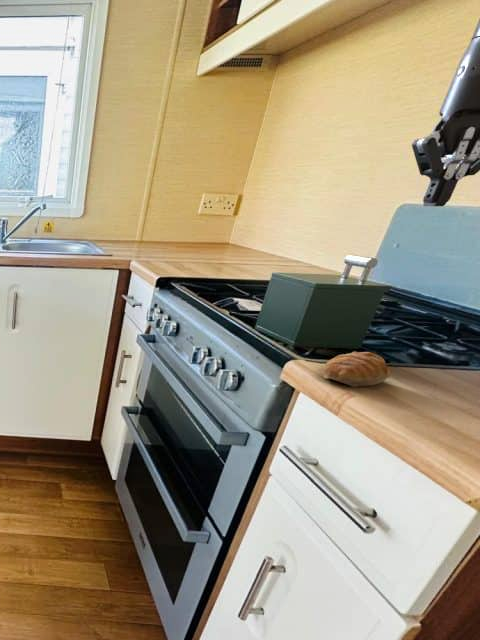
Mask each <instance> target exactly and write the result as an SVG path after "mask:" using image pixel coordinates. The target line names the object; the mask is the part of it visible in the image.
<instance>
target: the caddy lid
mask: <svg viewBox="0 0 480 640" xmlns="http://www.w3.org/2000/svg"><path fill="white" fill-rule="evenodd" d="M344 264H345V267H344V270H343V271H342V274H326V273H303V272H301V273H300V272H299V273H297V272H272V273H271V277H275V278H279V279H283V280H286V281H290V282H294V283H298V284H301V285H305V286H309V287H313V288H330V289H359V290H385V291H391V289H392V285H389V284H384V283H380V282H375V281H370V280H368V277H369V274H370V272H371V270H372V269H374V268H375V267H376V266H377V265H378V259H377V258H375V257H370V256H362V255H357V254H356V255H355V254H349V255H347V256H345V258H344ZM353 266H354V267H357V268H358V267H360V268H363V270H362V272H361V275H360V278H357V277H351V276H349V275H350V273H351V270H352V268H353Z"/></svg>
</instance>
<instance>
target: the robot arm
mask: <svg viewBox="0 0 480 640" xmlns="http://www.w3.org/2000/svg"><path fill="white" fill-rule="evenodd" d="M438 114H439V116H440V117H441V118H440V120H439V121H438V123H436V125H435V126H434V128H433V131H432V132H431V133H430V134H428V135H426V136H424V137H423V138H417V139H415V140H414V141H412V143H411V148H412V152H413V154H414V159H415V162H416V165H417V168H418V171H419V174H420V175H421V176H425V177H428V179H429V180H430V182H429V184H428V185H427V186H428V187H427V188H426V192H425V194H424V195H423V199H422V202H423V203H422V204H423V206H424V207H444V206H445V205H446V204H447V203H448V202H449V201H450V200H451V198H452V195H453V193H454V191H455V190H456V187H457V184H458V183H459V181H460V180H462V179H463V178H465V177H468V176H475V175H476V174H478V173H479V172H480V18H479V19H478V22H477V25H476V27H475V29H474V31H473V34H472V37H471V39H470V42H469V43H468V46H467V48H466V49H465V51H464V53H463V55H462V56H461V59H460V61H459V63H458V65H457V68H456V70H455V72H454V75H453V78H452V80H451V82H450V85H449V88H448V90H447V92H446V95H445V98H444V99H443V102H442V104H441V107H440V110H439V113H438Z"/></svg>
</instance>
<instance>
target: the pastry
mask: <svg viewBox="0 0 480 640" xmlns="http://www.w3.org/2000/svg"><path fill="white" fill-rule="evenodd" d="M322 376H323V378H324V379H329V380H334V381H337V382H340V383H342V384H345V385H348V386H350V387H355V388H356V387H368V386H369V387H370V386H374V385H377V384H382V382H383V381H385V380H387V379H388V378H390V376H391V373H390V372H389V366H388V365H387V364H386V361H385V359H384V358H383V357H382V356H380V355H378V354H377V353H374V352H370V351H362V352H361V351H360V352H359V351H355V350H354V351H352V352H350V353H345V354H344V353H343V354H339V355H336V356H335V357H333V358H331V359H330V360H328V361H327V362H326V364H325V366H324V369H323V372H322Z"/></svg>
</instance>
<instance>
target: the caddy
mask: <svg viewBox="0 0 480 640" xmlns="http://www.w3.org/2000/svg"><path fill="white" fill-rule="evenodd" d="M385 292H386V290H359V289H330V288H313V287H309V286H305V285H301V284H298V283H294V282H290V281H286V280H283V279H279V278H275V277H272V276H270V279H269V282H268V285H267V289H266V291H265V295H264V298H263V301H262V305H261V308H260V310H259V313H258V317H257V320H256V323H255V326H254V330H257V331H258V332H261V333H263V334H265V335H267V336H269V337H271V338H274V339H276V340H278V341H280V342H282V343H284V344H286V345H288V346H291V347H294V348H295V347H296V348H327V349H329V348H331V349H360V350H361V347H362V345H363V343H364V340H365V339H366V337H367V334H368V331H369V329H370V327H371V325H372V323H373V320H374V317H375V315H376V313H377V310H378V308H379V306H380V303H381V301H382V299H383V297H384V295H385Z"/></svg>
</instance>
